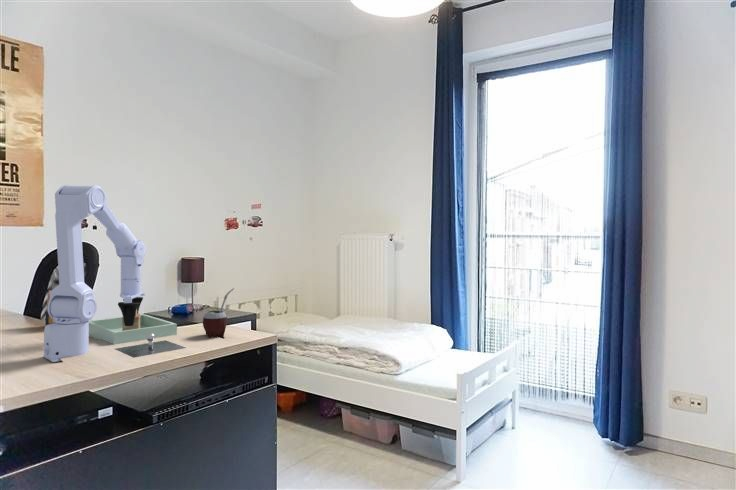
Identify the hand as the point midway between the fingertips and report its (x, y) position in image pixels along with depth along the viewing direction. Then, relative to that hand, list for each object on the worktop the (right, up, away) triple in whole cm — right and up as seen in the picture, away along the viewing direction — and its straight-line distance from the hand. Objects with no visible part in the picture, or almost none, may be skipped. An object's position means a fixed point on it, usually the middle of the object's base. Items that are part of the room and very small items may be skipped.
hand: (130, 323), depth 146 cm
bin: (0, -4, 0) cm, 4 cm away
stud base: (+14, -5, -17) cm, 23 cm away
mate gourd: (+26, -5, 0) cm, 27 cm away
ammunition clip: (-28, -3, +9) cm, 30 cm away
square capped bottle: (0, -3, 0) cm, 3 cm away
